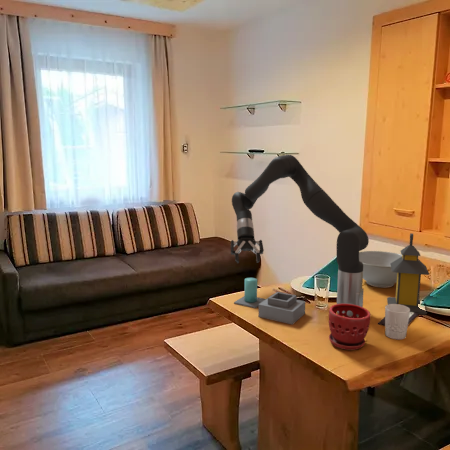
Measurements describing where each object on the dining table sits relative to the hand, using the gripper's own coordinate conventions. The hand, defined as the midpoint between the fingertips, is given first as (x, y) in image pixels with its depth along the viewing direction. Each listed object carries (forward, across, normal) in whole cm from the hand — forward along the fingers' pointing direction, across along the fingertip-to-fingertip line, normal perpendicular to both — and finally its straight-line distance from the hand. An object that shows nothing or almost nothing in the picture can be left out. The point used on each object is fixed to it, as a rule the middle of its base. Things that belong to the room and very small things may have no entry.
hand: (247, 262), depth 194 cm
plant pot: (+45, +28, -25) cm, 59 cm away
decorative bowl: (+3, +63, +18) cm, 65 cm away
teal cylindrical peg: (+16, 0, +3) cm, 17 cm away
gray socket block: (+27, +11, -7) cm, 30 cm away
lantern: (+24, +62, -3) cm, 66 cm away
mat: (+17, 0, +4) cm, 17 cm away
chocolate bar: (+32, +53, -11) cm, 63 cm away
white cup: (+42, +46, -21) cm, 66 cm away
